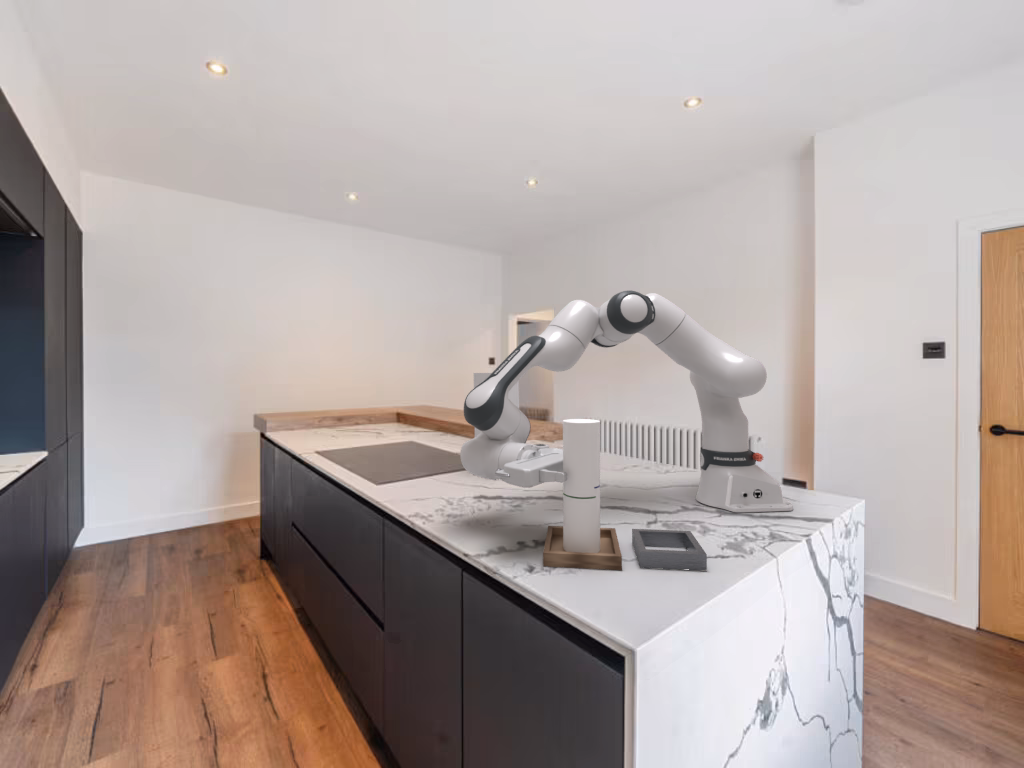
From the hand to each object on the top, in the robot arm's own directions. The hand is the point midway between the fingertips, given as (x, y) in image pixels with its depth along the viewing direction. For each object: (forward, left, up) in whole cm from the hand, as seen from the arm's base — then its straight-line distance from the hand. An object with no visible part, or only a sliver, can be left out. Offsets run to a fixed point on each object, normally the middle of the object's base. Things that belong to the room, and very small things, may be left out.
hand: (578, 472), depth 86 cm
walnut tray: (-1, 0, -16) cm, 16 cm away
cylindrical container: (-1, 0, -15) cm, 15 cm away
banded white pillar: (+27, -62, -16) cm, 69 cm away
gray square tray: (-17, 0, -16) cm, 23 cm away
